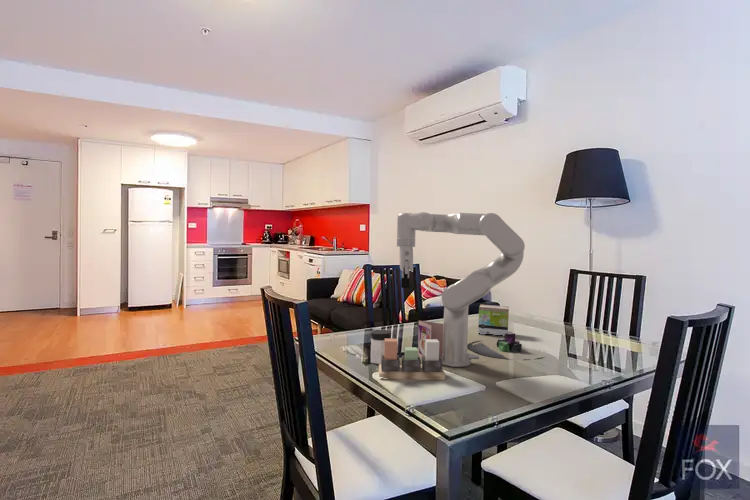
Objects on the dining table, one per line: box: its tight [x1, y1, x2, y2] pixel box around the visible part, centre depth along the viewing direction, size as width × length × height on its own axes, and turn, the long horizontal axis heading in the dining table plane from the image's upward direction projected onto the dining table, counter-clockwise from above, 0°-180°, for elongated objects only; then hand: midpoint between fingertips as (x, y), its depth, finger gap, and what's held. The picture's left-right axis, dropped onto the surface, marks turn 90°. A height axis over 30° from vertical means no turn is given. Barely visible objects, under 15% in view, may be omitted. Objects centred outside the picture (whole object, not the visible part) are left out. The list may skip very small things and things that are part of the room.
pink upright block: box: [384, 338, 398, 360], centre depth 155 cm, size 4×4×7 cm
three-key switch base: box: [378, 355, 446, 381], centre depth 155 cm, size 23×11×6 cm, turn 90°
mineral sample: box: [467, 331, 544, 361], centre depth 194 cm, size 35×35×9 cm
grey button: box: [425, 339, 439, 361], centre depth 155 cm, size 4×4×7 cm
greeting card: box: [417, 320, 444, 358], centre depth 177 cm, size 11×7×15 cm, turn 20°
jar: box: [370, 329, 392, 365], centre depth 171 cm, size 9×8×12 cm
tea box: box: [477, 303, 510, 337], centre depth 226 cm, size 15×10×15 cm
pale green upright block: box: [404, 346, 418, 360], centre depth 155 cm, size 4×4×7 cm
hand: (405, 287), depth 176 cm, fingers closed
